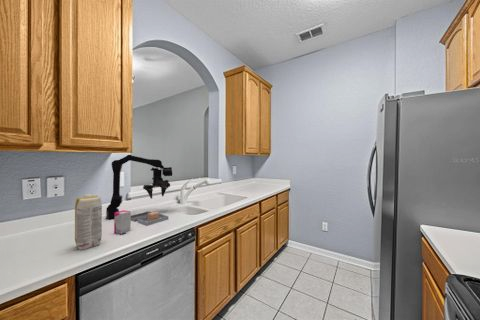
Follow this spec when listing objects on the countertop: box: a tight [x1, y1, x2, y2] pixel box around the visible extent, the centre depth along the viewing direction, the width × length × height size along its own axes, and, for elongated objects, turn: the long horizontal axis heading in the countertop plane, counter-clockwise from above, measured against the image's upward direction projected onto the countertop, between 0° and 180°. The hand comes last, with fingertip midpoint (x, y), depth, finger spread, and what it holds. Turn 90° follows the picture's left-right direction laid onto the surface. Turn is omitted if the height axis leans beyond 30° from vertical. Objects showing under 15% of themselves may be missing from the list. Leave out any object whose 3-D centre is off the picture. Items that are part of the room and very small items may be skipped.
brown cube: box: [148, 211, 160, 221], centre depth 124 cm, size 5×5×5 cm
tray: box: [137, 213, 169, 227], centre depth 124 cm, size 15×10×2 cm
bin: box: [131, 211, 151, 222], centre depth 131 cm, size 15×10×2 cm
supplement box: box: [113, 210, 132, 236], centre depth 106 cm, size 6×6×12 cm
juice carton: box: [74, 193, 103, 251], centre depth 90 cm, size 9×8×24 cm
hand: (157, 197), depth 142 cm, fingers open, 9 cm apart
